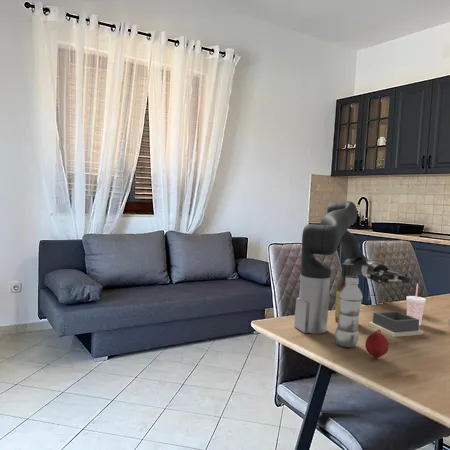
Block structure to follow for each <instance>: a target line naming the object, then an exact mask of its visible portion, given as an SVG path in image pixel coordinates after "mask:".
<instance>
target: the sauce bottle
mask: <svg viewBox="0 0 450 450" xmlns="http://www.w3.org/2000/svg"><path fill="white" fill-rule="evenodd" d="M340 267H341V273H340V275H341V277H340V278H339V280H337V284H336V286H337V287H336V292H335V293H336V294H335V307H334V308H335V309H334V311H335V312H334V317H335V321H336V322H337V323H338V320H339V293H340V291H341V289H342V288H343V287H344V286H345V284H346V283H345V276H354V275H353V269H354V264H350V263H344V262H342V263H341V266H340Z"/></svg>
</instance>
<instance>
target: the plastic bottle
mask: <svg viewBox="0 0 450 450" xmlns="http://www.w3.org/2000/svg"><path fill="white" fill-rule="evenodd" d="M359 279H360V278H359V277H358V276H356V275H353V276H345V283H346V284H345V286H344V287H343V288H342V289H341V291H340V293H339V320H338V322H337V327H336V330H335V334H334V338H335V339H334V341H335V343H336V344H337V345H338V346H340V347H344V348H355V347H356V346H357V345H358V344H359V339H360V338H359V337H360V335H359V334H360V332H359V316H360V310H361V306H362V302H363V293H362V291H361V289H360V288H359V286H358V285H359V282H360V281H359Z"/></svg>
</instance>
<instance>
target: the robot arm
mask: <svg viewBox="0 0 450 450" xmlns="http://www.w3.org/2000/svg"><path fill="white" fill-rule="evenodd" d="M326 212H327V213H326V214H325V215H324V216H323V217H322V218H321V219H320V222H319V224H315V223H313V224H312V223H308V224H306V225H305V226H304V227H303V230H302V236H301V259H300V260H301V264H300V266H301V267H300V268H301V269H300V280H299V291H298V293H299V294H298V297H296V299H295V312H294V325H293V326H294V328H295V329H297V330H298V331H301V332H302V333H304V334H308V333H309V334H324V333H326V332H327V330H328V329H327V327H328V318H329V317H328V313H329V304H330V301H329V300H330V290H331V289H330V288H331V277H332V269H331V267H329V266H328V265H325V264H324V263H322V262H320V261H319V260H317V258H316V257H315V256H314V255H320V256H331V255H334V254H335V253H336V252H337V250H338V247H339V244H340V246H341V250H342V253H343V256H344V257H345V258H346V259H345V260H344V261H343V263H350V264H354V269H353V276H363V277H365V278H366V279H368V280H371V281H372V282H374V283H378V284H381V283H384V284H389V282H390V281H391V282H395V283H396V282H402V283H405V284H409V283H410V280H411V279H410V278H409V277H408V274H406V273H404V272H401V271H392V270H390V269H389V268H388V266H387V265H385V264H382V263H380V262H377V261H374V260H370V259H368V258H367V257H366V256H365V254H363V252H362V251H361V249H360V244H359V241H358V239H357V237H356V236H355V235H354V234H353V233H352V232H351V231H349V230H348V229H349V228H350V227H351V226H353V225H354V224H355V223H356V221H357V218H358V208H357V206H356V204H355V203H354V202H353V201H350V200H346V201H338V202H331V203H329V204H328V205H327V209H326Z"/></svg>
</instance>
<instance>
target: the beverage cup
mask: <svg viewBox="0 0 450 450" xmlns="http://www.w3.org/2000/svg"><path fill="white" fill-rule="evenodd" d="M418 289H419V283H416V287H415V295H407V296H405V297H406V315H408V316H411V317H413V318H416V319H419V326H421V325H422V320H423V314H424V308H425V303H426V301H427V299H426V298H424V297H421V296H418V291H419V290H418Z"/></svg>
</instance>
